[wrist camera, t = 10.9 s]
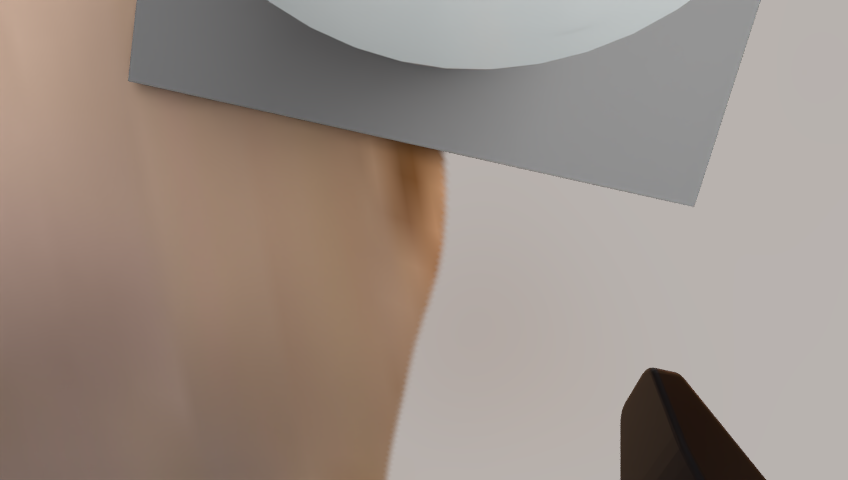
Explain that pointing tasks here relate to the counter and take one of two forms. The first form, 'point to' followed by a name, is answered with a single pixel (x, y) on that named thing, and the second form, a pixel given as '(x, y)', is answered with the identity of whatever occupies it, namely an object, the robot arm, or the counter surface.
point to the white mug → (478, 27)
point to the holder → (473, 90)
